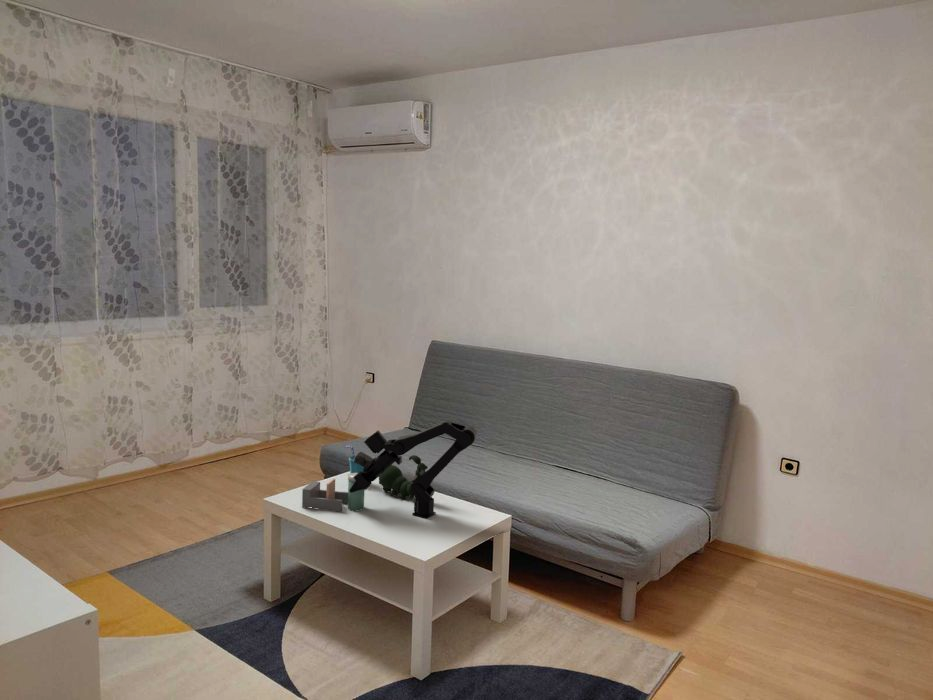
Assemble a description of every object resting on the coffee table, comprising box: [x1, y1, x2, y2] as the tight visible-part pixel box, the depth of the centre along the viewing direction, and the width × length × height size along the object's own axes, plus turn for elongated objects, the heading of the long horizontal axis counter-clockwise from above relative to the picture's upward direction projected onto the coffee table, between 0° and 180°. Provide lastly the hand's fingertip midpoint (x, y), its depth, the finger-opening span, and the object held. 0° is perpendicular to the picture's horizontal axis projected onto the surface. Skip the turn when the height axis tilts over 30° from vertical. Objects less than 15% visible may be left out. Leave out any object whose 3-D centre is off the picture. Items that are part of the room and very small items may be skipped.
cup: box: [345, 445, 364, 474], centre depth 281 cm, size 14×8×15 cm, turn 46°
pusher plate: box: [326, 478, 336, 499], centre depth 253 cm, size 1×7×9 cm, turn 171°
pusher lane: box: [301, 480, 348, 512], centre depth 253 cm, size 15×10×7 cm, turn 81°
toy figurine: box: [378, 454, 429, 500], centre depth 268 cm, size 9×19×25 cm
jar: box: [347, 473, 365, 511], centre depth 251 cm, size 6×6×12 cm
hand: (352, 489), depth 251 cm, fingers closed on jar, 6 cm apart
